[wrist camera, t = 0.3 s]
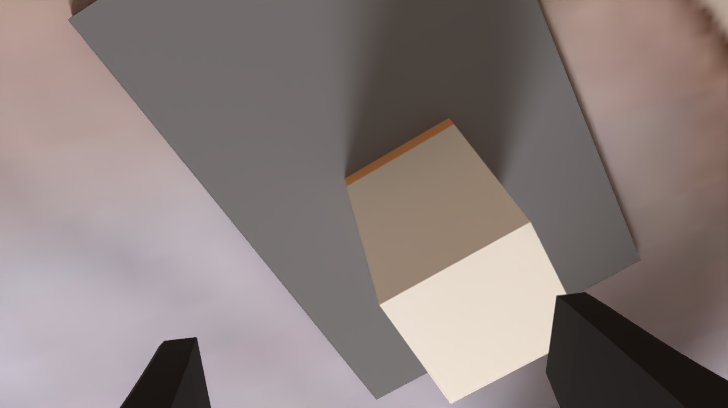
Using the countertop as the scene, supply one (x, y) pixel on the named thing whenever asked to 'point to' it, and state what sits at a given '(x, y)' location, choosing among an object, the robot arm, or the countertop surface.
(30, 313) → the countertop surface
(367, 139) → the mat
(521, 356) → the tall block
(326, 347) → the countertop surface
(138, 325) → the countertop surface
